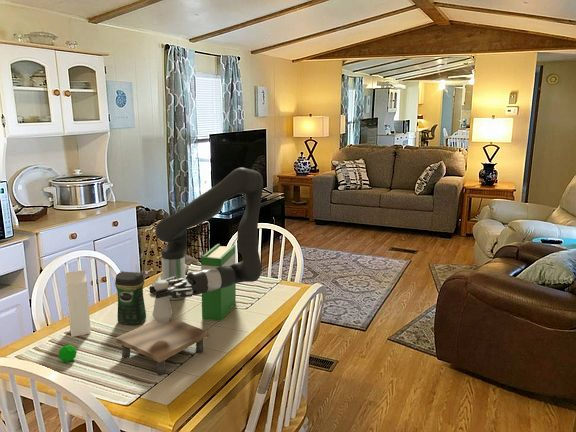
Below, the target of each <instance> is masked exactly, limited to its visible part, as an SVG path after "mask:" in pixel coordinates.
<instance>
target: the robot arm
mask: <svg viewBox="0 0 576 432" xmlns="http://www.w3.org/2000/svg"><path fill="white" fill-rule="evenodd" d="M263 178H264V177H263V175H262V174H261V173H260V172H259V171H257V170H254V169H250V168H246V167H238V168H235V169H234V170H232V171H231V172H230V173H229V174H227V175H226V176H225V177H224V178H223V179H222V180H221V181H219V182H218V183H217V184H216V185H214V186H212V187H211V188H210V189H208V190H207V191H206V192H204V193H202V194H201V195H199V196H197V197H196V198H195V199H194V200H192V201H190V202H189V203H188V204H186V205H185V206H183V207H181V209H180V210H178V211H177V212H175V213H174V214H172V215H170V216H168V217H165V218H164V219H161V220H160V221H159V222H158V223H157V224H156V226H155V235H156V238H157V239H158V240H159V241H161V242H163V243H166V245H165V246H164V247H163V248H162V249H161V251H160V253H161V273H160V276H161V280H166V281H168V284H169V285H168V289H163V290H158V291H156V289H155V288H154V285H153V286H152V285H151V286H149V288H148V289H149V293H150V294H153V293H155V294H154V297H156V298H162V297H166V296H168V297H169V300H170V301H176V300H182V299H184V298H190V297H193V296H198V295H202V294H203V293H207V292H211V291H214V290H217V289H220V288H224V287H228V286H231V285H233V284H235V283H236V284H239V283H254V282H257V281H258V280H259V279H260V277H261V275H262V269H263V268H262V267H263V266H262V261H261V257H260V253H259V250H258V242H259V241H258V240H259V239H258V229H259V228H258V227H259V226H258V225H259V216H260V210H261V204H262V196H263V188H264V179H263ZM236 195H244V196H245V210H244V213H243V215H242V217H241V220H240V222H239V224H238V227H237V234H236V235H237V239H236V240H237V241H236V242H237V252H238V253H239V254H240V255H241V256H242V261H240V262H236V263H235V264H232V265H229V266H222V267H217V268H209V269H204V270H201V269H200V270H194V271H189V272H188V273H185V264H186V251H187V246H188V245H187V244H188V242H187V241H188V229H190V228H193V227H195V226H198V225H200V224H202V223H204V222H207V221H209V220H210V219H212V218H213V217H215V216H217V215H218V214H219V213H220V212H221V211H222V209H223V206H224V204H225V202H227V200H229V199H231V198H233V197H235V196H236Z"/></svg>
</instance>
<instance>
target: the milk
mask: <svg viewBox="0 0 576 432" xmlns="http://www.w3.org/2000/svg"><path fill="white" fill-rule="evenodd" d="M87 280H88V279H87V275H86V270H85V269H81V270H76V271H75V270H74V271H67V272H65V285H66V297H67V308H68V309H67V311H68V318H69V320H68V321H69V330H70V331H69V332H70V334H71V338H74V337H78V336H79V337H80V336H83V335H90V334H91V333H92V332H91V320H90V306H89V305H90V304H89V294H88V293H89V291H88V281H87Z"/></svg>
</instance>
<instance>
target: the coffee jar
mask: <svg viewBox="0 0 576 432" xmlns="http://www.w3.org/2000/svg"><path fill="white" fill-rule="evenodd" d="M114 281H115V282H114V286H115V288H116V292H117V293H116V294H117V314H116V315H117V316H116V317H117V322H118V323H119V324H121V325H122V324H123V325H132V326H136V325H140V324H142V323H143V322H144V321H145V320H146V319H147V310H146V305H145V299H144V285H145V278H144V274H143V272H135V271H134V272H133V271H123V270H122V271H120V272H118V273H117V274H116V276H115V280H114Z"/></svg>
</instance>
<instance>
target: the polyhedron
mask: <svg viewBox="0 0 576 432" xmlns="http://www.w3.org/2000/svg"><path fill="white" fill-rule="evenodd" d="M76 356H77V349H76V347H75V346H74V345H71V344H66V345H63V346H62V347H60V348H59V351H58V358H59V359H60V361H61V362H64V363H68V362H72V361H73V360H74V359H75V358H76Z"/></svg>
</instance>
